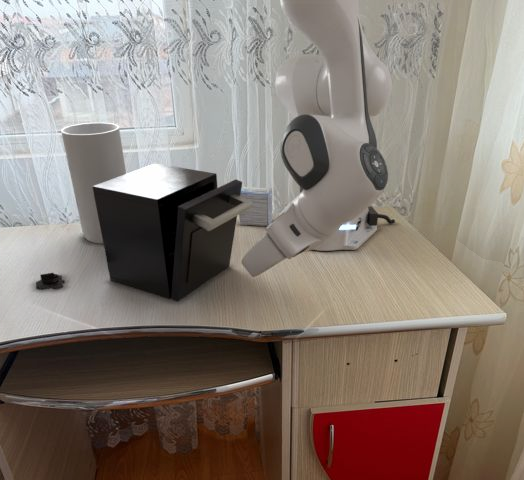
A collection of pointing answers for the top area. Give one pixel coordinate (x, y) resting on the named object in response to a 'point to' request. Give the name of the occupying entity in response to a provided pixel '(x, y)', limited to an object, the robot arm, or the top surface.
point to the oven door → (205, 237)
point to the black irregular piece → (50, 281)
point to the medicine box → (257, 206)
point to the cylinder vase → (92, 167)
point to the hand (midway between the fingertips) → (259, 263)
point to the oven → (146, 222)
